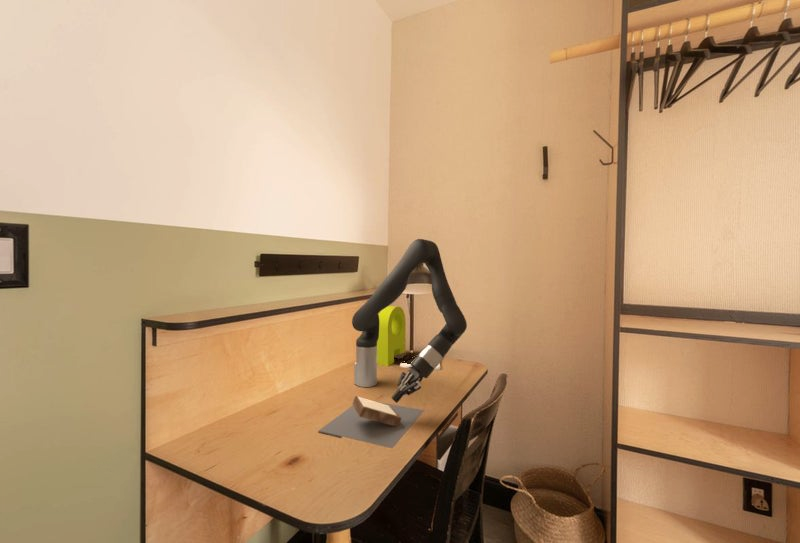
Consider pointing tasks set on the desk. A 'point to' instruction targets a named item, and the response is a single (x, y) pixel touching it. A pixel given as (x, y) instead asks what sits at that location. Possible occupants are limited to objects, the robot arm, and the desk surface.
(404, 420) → the desk mat
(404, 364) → the flat white fragment
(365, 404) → the walnut picture frame
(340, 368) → the desk surface
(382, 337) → the decorative object
